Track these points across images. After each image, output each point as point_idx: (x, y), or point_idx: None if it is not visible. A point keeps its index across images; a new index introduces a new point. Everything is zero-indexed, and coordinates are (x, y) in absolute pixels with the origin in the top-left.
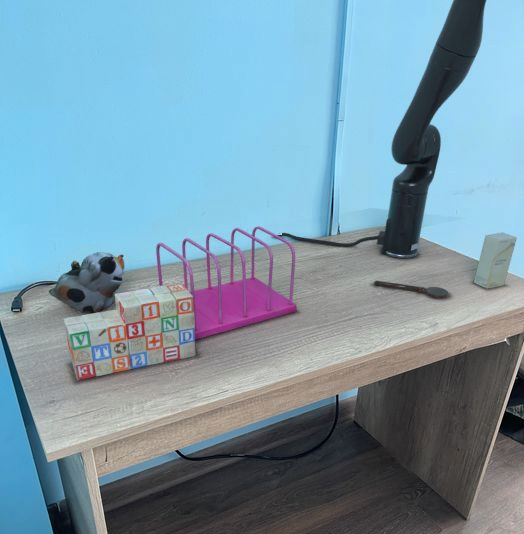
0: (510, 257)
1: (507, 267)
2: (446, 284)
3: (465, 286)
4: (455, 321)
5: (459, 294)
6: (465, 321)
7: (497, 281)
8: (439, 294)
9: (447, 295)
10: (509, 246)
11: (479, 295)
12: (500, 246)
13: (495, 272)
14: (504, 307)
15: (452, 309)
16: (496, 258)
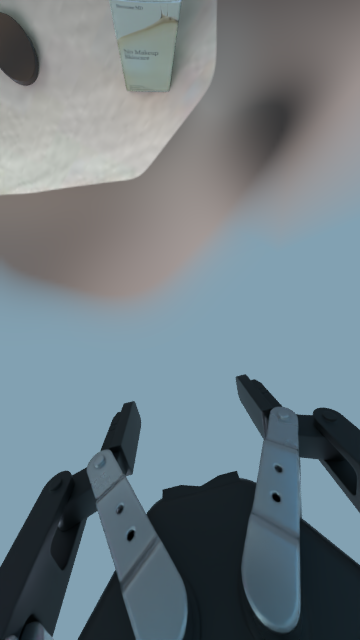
0: (170, 50)
1: (167, 67)
2: (57, 7)
3: (95, 49)
4: (18, 181)
5: (65, 84)
6: (34, 187)
7: (148, 85)
8: (11, 71)
9: (36, 77)
10: (157, 24)
11: (100, 110)
12: (122, 18)
13: (135, 71)
14: (114, 174)
15: (27, 140)
16: (124, 45)
